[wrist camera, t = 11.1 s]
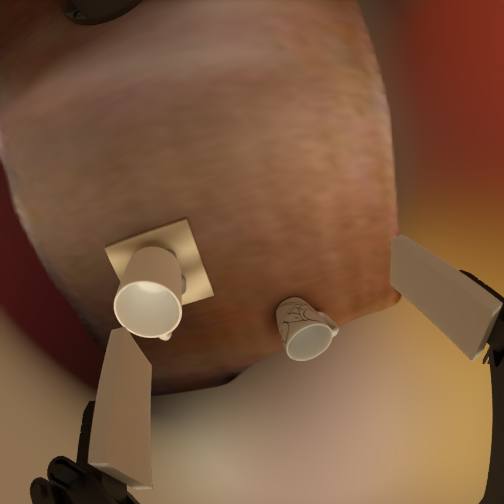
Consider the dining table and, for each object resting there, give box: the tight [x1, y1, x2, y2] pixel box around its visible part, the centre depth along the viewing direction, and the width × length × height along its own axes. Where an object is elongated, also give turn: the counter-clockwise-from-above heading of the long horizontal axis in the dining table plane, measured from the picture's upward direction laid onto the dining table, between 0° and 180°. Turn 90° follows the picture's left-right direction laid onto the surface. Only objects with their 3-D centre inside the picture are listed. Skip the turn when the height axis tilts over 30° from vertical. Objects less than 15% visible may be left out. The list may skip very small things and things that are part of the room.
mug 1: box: [114, 247, 182, 340], centre depth 35 cm, size 12×8×10 cm
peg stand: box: [104, 217, 214, 305], centre depth 42 cm, size 14×14×4 cm
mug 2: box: [276, 297, 339, 361], centre depth 48 cm, size 11×8×10 cm
